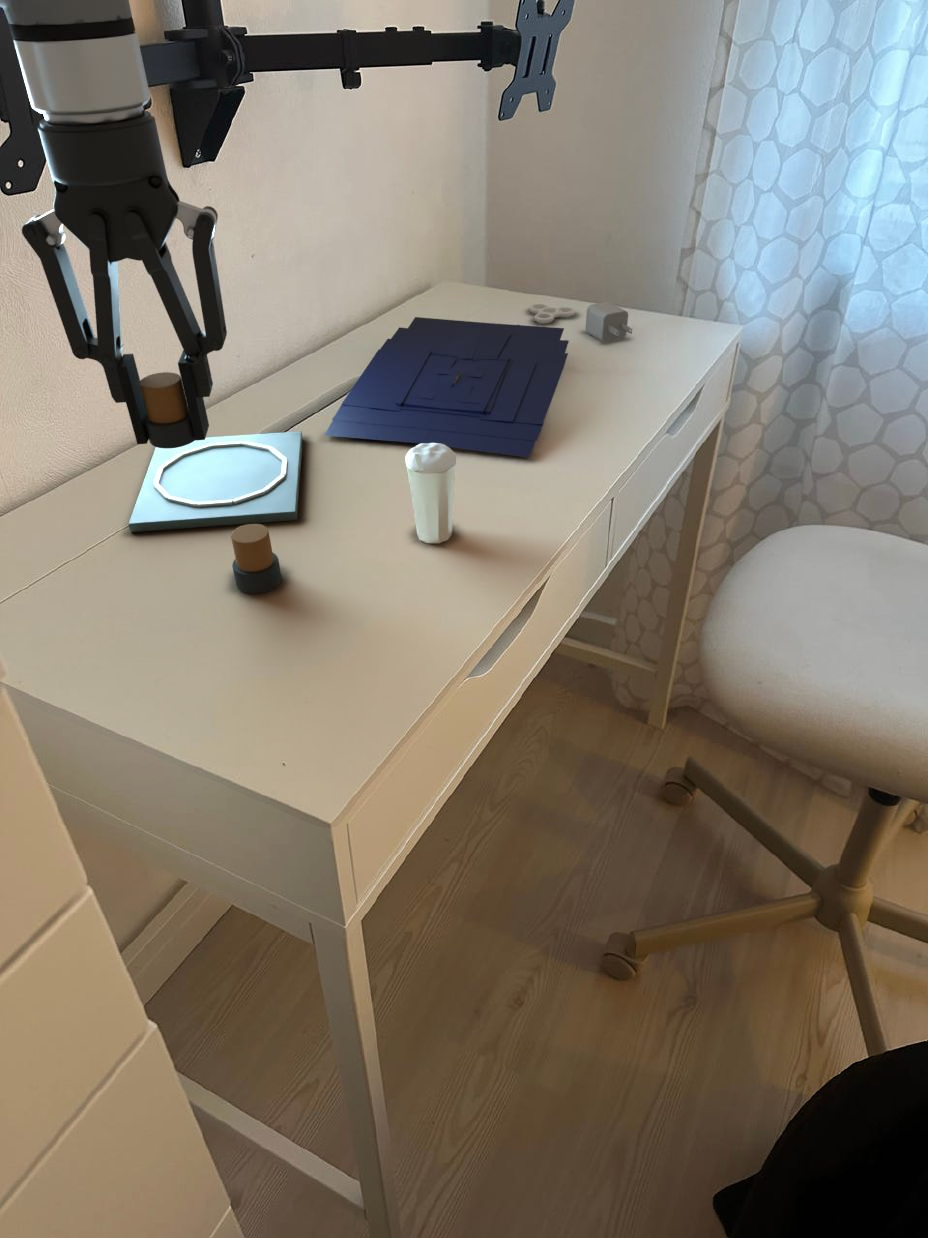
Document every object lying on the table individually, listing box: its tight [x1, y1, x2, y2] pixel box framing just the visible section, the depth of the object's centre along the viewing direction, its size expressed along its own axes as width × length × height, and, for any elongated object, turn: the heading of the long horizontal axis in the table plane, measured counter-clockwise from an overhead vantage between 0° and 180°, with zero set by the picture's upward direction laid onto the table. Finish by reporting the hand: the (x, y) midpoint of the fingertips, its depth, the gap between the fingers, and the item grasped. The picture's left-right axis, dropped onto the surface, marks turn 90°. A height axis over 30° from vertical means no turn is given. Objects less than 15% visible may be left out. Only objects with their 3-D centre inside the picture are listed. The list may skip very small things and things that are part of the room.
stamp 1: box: [139, 371, 195, 449], centre depth 72 cm, size 4×4×5 cm
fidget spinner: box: [528, 303, 576, 324], centre depth 132 cm, size 7×6×1 cm
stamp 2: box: [230, 523, 282, 595], centre depth 78 cm, size 4×4×5 cm
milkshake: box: [404, 443, 457, 544], centre depth 82 cm, size 4×5×10 cm
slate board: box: [128, 430, 303, 533], centre depth 94 cm, size 16×18×1 cm
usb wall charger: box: [585, 301, 633, 344], centre depth 124 cm, size 4×7×4 cm, turn 25°
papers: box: [324, 316, 570, 458], centre depth 110 cm, size 24×30×4 cm
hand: (173, 434), depth 74 cm, fingers closed on stamp 1, 4 cm apart
